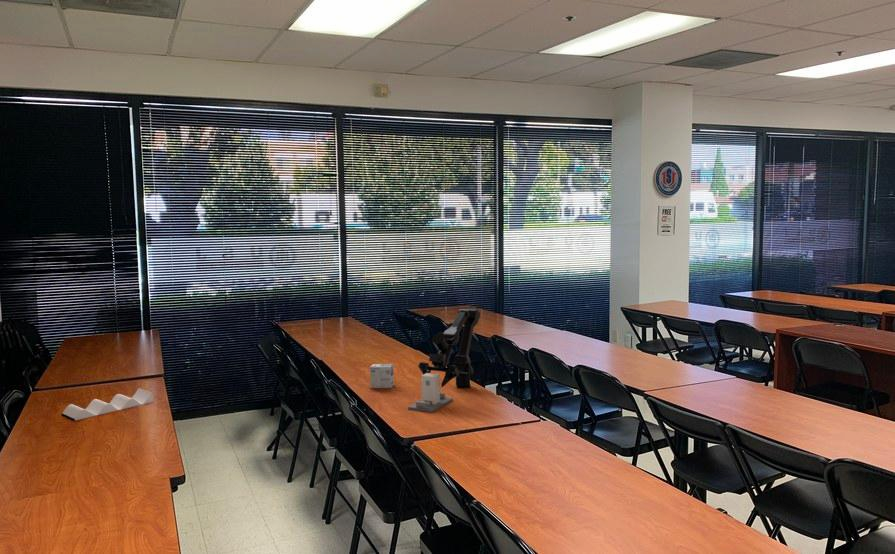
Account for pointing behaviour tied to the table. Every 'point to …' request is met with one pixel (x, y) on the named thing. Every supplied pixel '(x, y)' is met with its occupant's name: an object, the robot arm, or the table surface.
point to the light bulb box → (381, 376)
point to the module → (430, 388)
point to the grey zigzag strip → (108, 405)
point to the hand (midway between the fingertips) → (432, 385)
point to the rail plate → (430, 404)
